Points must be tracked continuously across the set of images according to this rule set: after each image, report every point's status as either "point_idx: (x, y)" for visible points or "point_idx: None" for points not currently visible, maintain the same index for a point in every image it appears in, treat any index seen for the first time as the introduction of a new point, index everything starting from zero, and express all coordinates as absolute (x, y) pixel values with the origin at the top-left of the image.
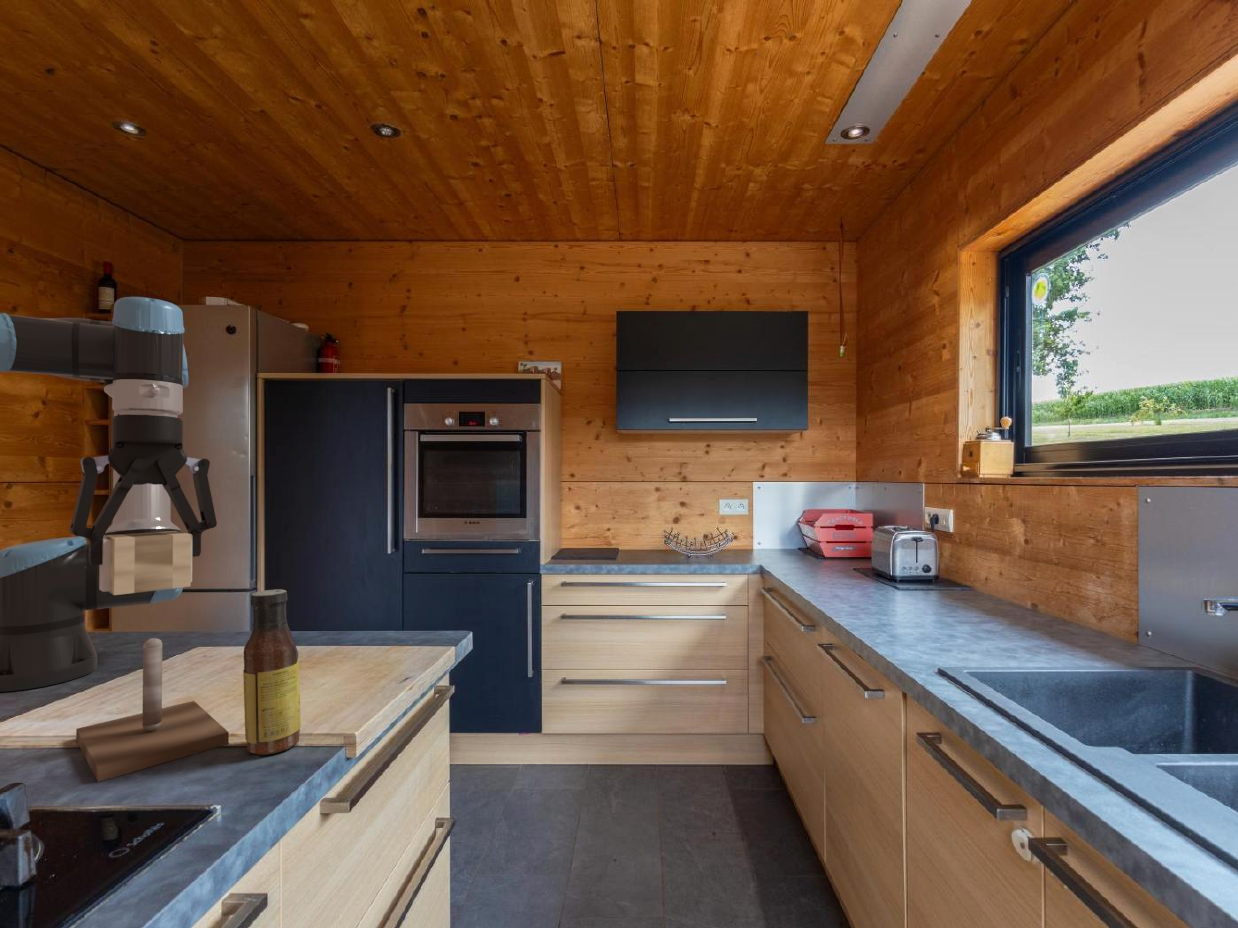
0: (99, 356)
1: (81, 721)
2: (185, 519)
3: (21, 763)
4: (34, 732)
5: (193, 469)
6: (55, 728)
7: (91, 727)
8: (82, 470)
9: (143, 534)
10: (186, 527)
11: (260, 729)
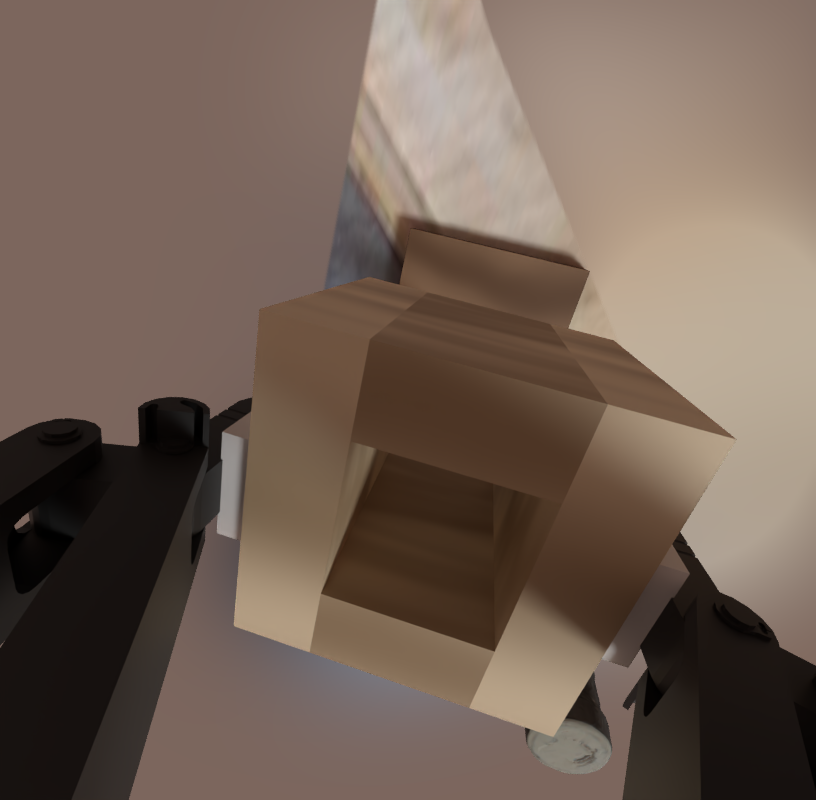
0: None
1: (457, 118)
2: (632, 760)
3: (341, 257)
4: (390, 104)
5: None
6: (417, 117)
7: (426, 246)
8: None
9: (450, 469)
10: (688, 628)
11: None
